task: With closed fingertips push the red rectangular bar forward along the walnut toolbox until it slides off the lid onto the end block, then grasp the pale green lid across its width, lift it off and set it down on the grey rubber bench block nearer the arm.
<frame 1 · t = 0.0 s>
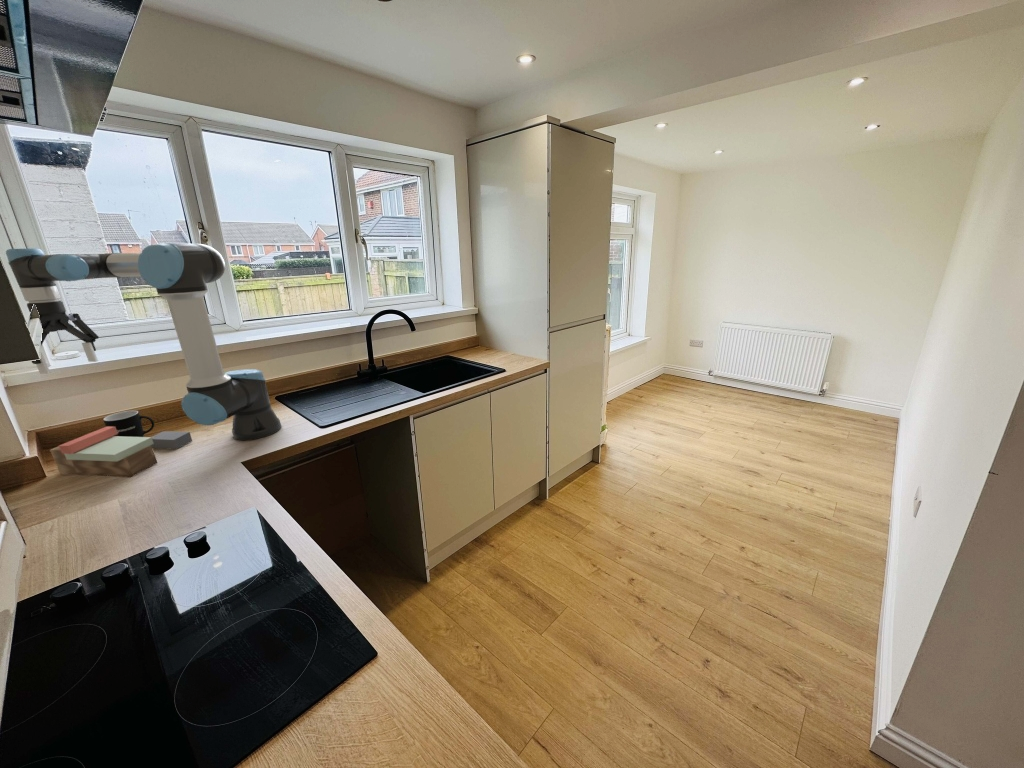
hand: (70, 367, 131), 28 cm above the worktop, fingers open, 13 cm apart
lid: (111, 451, 121), point 6 cm above the worktop, touching toolbox
toolbox: (118, 468, 123), on the worktop
red rectangular bar: (89, 439, 121), point 10 cm above the worktop, slide at 0.0 cm
lid rest: (171, 444, 138), on the worktop
mug: (136, 441, 142), on the worktop
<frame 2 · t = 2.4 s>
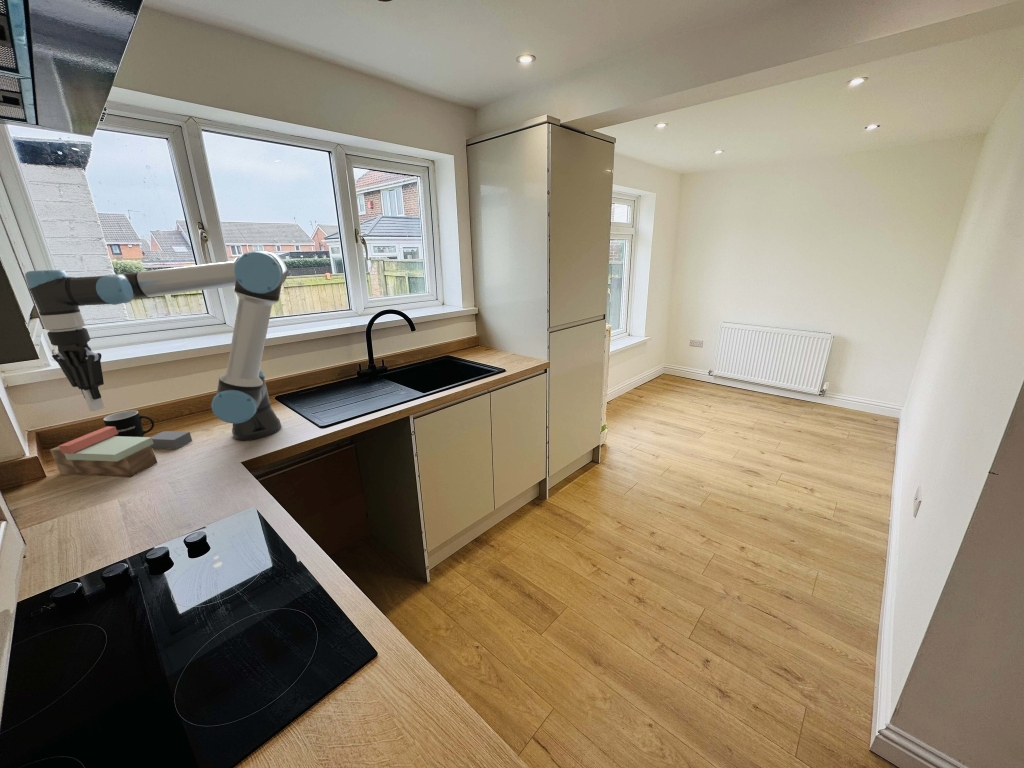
hand: (97, 409, 117), 20 cm above the worktop, fingers closed
nothing on the worktop moved.
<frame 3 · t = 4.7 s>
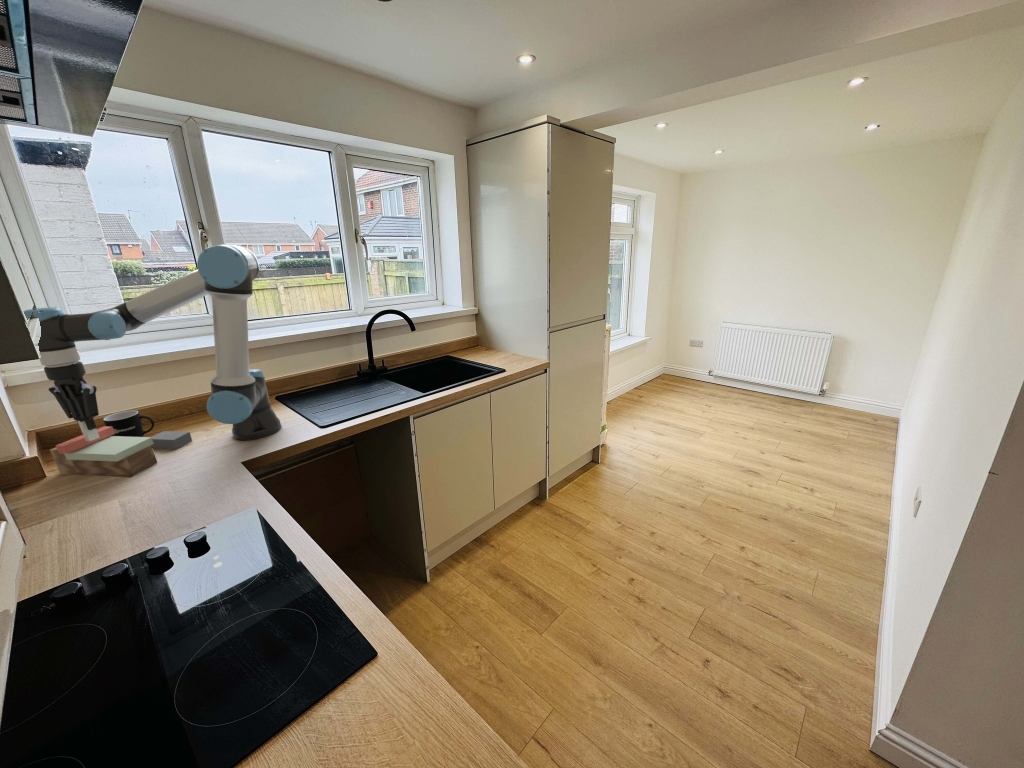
hand: (92, 439, 120), 10 cm above the worktop, fingers closed
red rectangular bar: (86, 439, 121), point 10 cm above the worktop, slide at 1.0 cm, touching gripper
everything else where it was.
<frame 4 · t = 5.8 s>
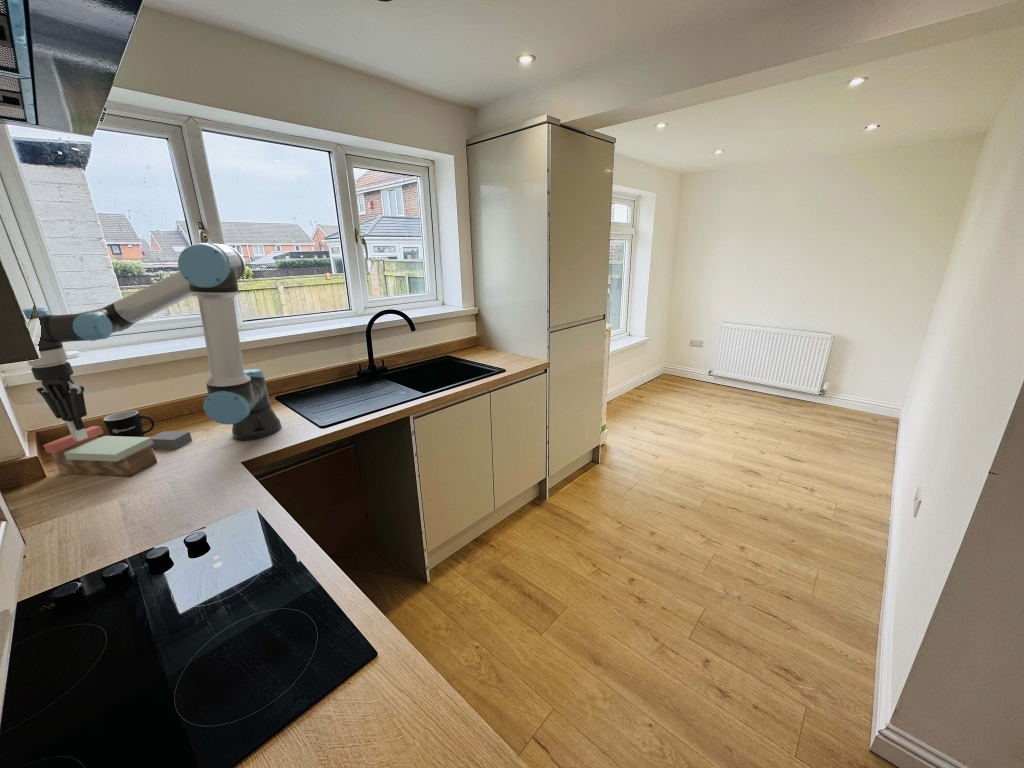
hand: (81, 439, 121), 10 cm above the worktop, fingers closed
red rectangular bar: (75, 438, 121), point 10 cm above the worktop, slide at 5.2 cm, touching gripper
everything else where it was.
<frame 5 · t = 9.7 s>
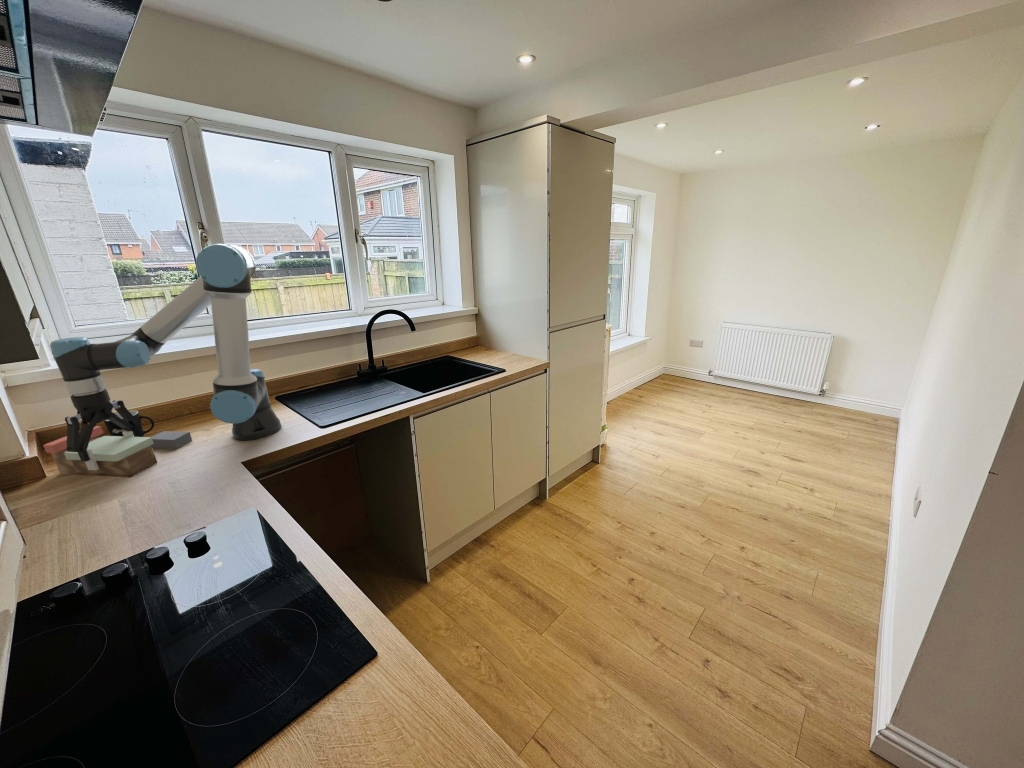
hand: (114, 459, 122), 3 cm above the worktop, fingers closed on lid, 11 cm apart
lid: (111, 451, 121), point 6 cm above the worktop, touching gripper, toolbox
red rectangular bar: (74, 438, 121), point 10 cm above the worktop, slide at 5.2 cm
everything else where it was.
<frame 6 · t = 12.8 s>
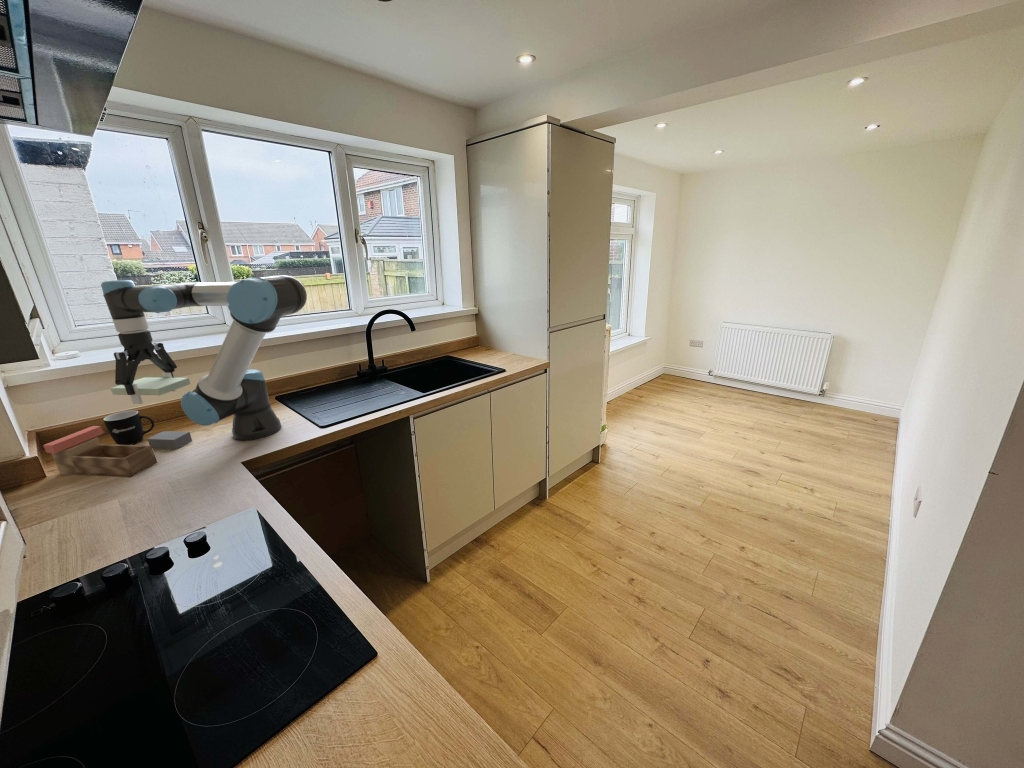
hand: (155, 397, 132), 18 cm above the worktop, fingers closed on lid, 11 cm apart
lid: (152, 389, 131), point 20 cm above the worktop, touching gripper
everything else where it was.
when the fingers open (2 cm above the worktop, at t = 16.1 s): lid drops 1 cm, resting on lid rest.
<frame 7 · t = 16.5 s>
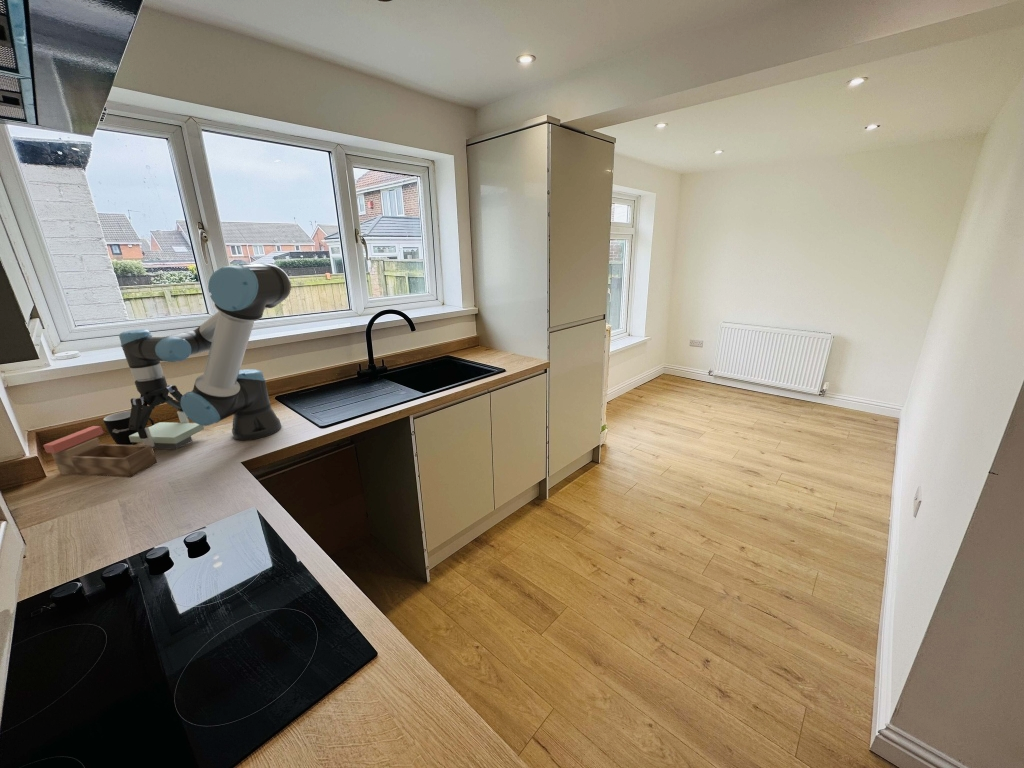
hand: (169, 436, 137), 3 cm above the worktop, fingers open, 13 cm apart
lid: (168, 435, 137), point 3 cm above the worktop, touching lid rest
everything else where it was.
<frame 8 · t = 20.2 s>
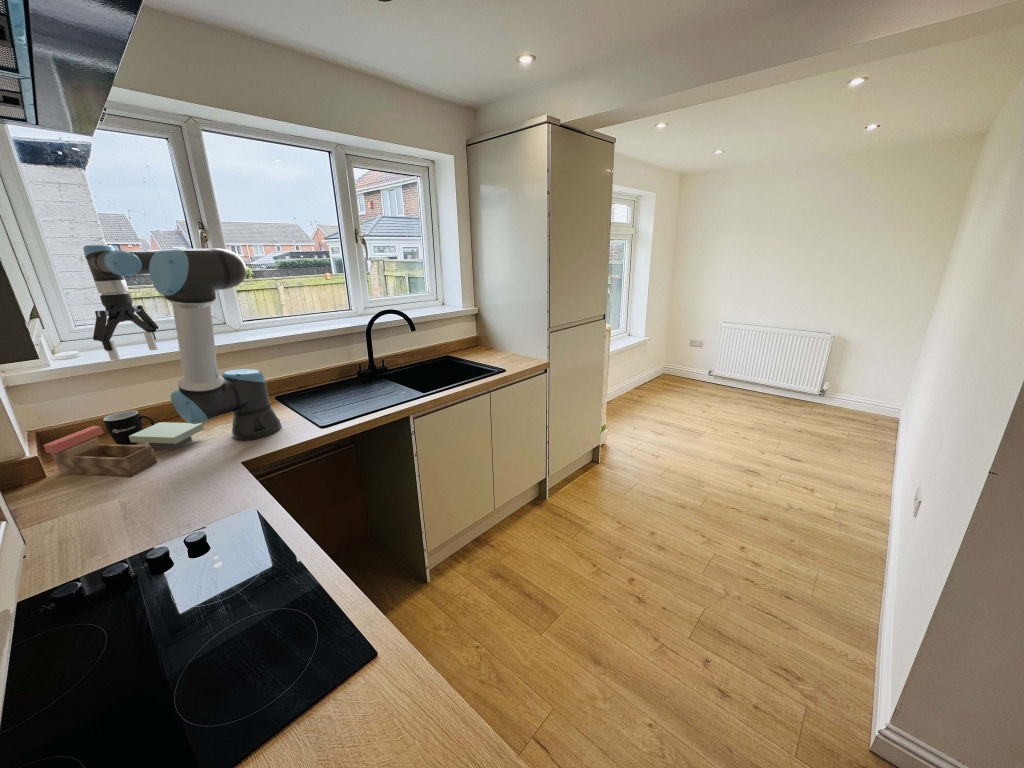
hand: (135, 354, 142), 29 cm above the worktop, fingers open, 13 cm apart
nothing on the worktop moved.
at the end: red rectangular bar slide at 5.2 cm; lid inside the target area on the lid rest (0.0 cm from its centre), point 3.5 cm above the lid rest's base; lid tilted 0° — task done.
